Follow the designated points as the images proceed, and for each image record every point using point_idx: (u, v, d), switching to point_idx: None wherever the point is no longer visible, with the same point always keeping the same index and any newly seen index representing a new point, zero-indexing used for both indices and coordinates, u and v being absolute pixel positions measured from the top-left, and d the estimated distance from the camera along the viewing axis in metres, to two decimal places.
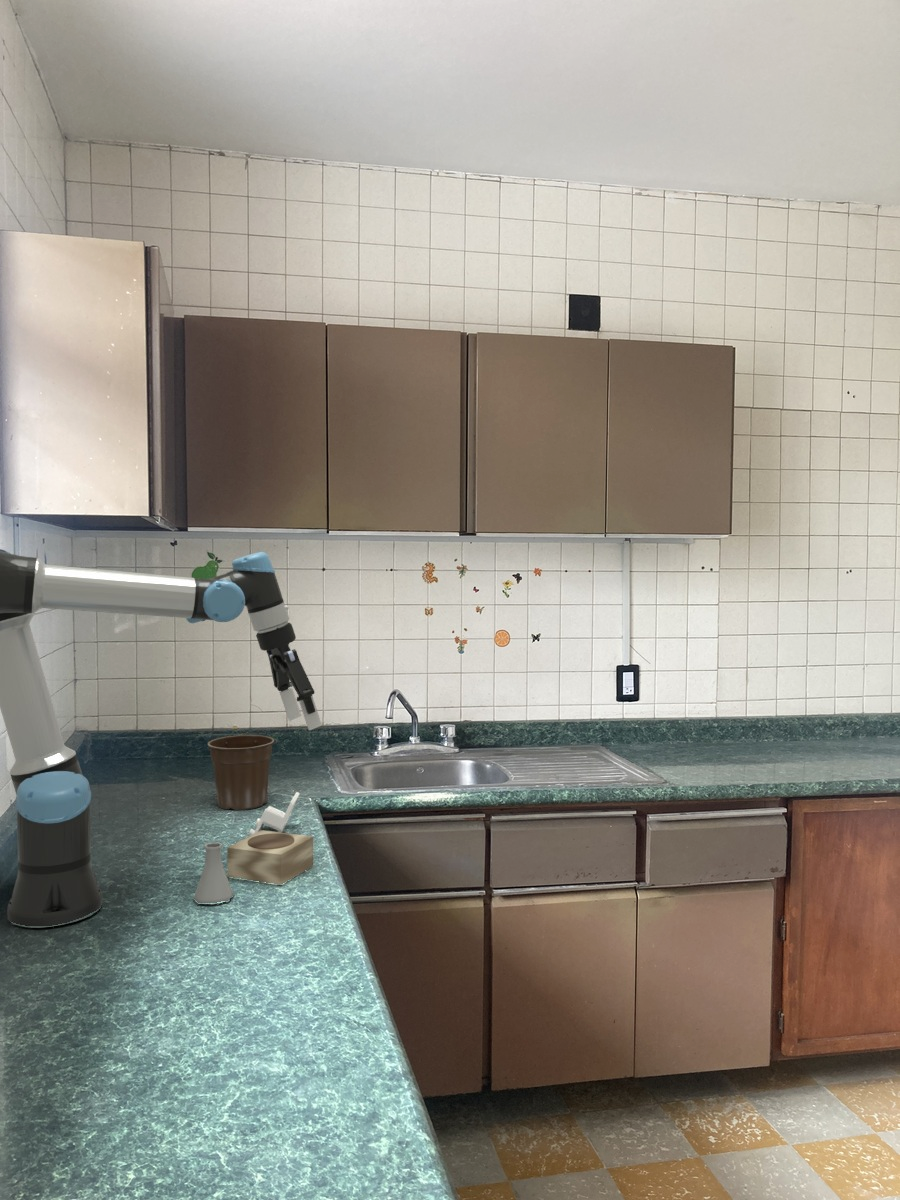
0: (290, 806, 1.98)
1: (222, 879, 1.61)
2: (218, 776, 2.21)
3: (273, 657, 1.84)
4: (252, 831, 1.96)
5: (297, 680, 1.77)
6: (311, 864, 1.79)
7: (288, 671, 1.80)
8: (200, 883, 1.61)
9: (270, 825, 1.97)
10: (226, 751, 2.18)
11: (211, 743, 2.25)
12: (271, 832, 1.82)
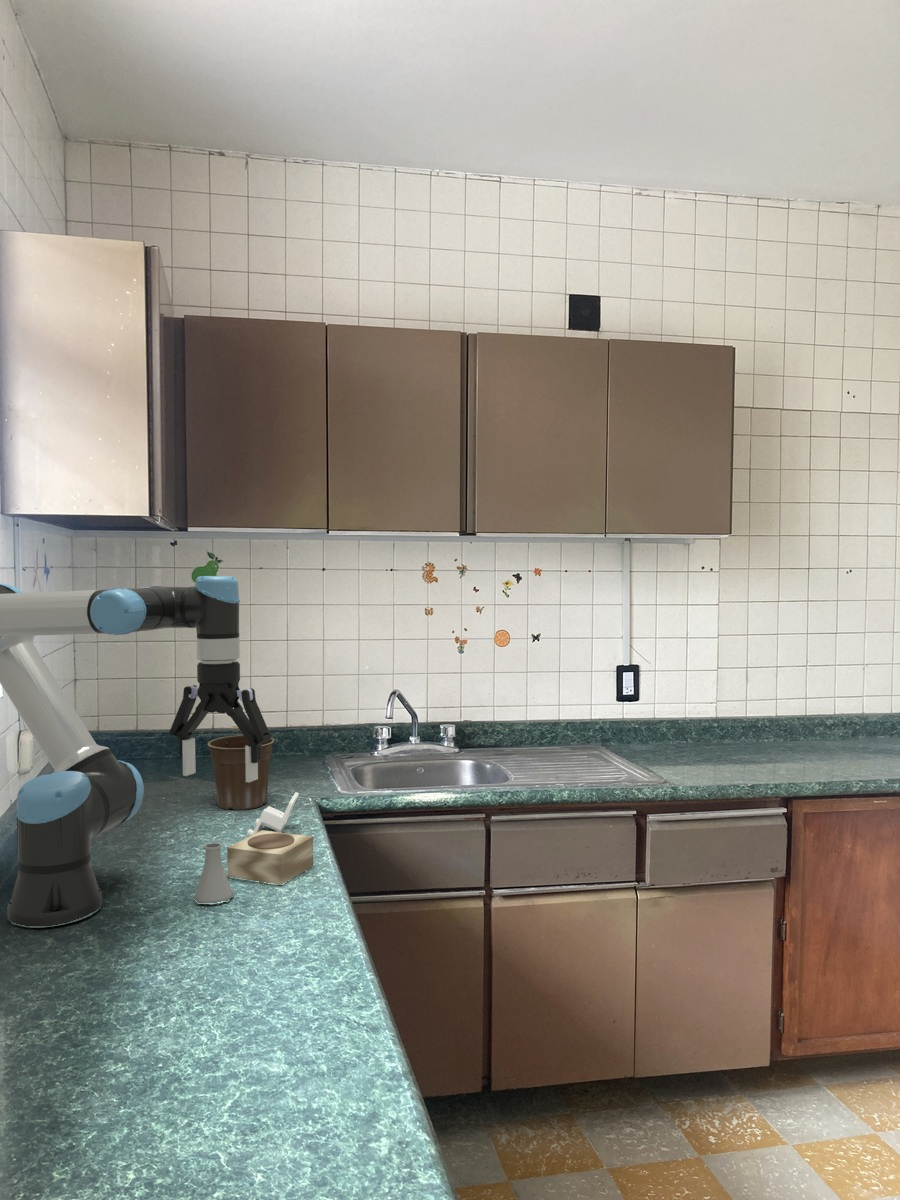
0: (289, 806, 1.98)
1: (222, 879, 1.61)
2: (218, 776, 2.21)
3: (209, 695, 1.61)
4: (251, 831, 1.96)
5: (257, 722, 1.58)
6: (311, 864, 1.79)
7: (235, 712, 1.60)
8: (200, 883, 1.61)
9: (269, 825, 1.96)
10: (226, 751, 2.18)
11: (211, 743, 2.25)
12: (271, 832, 1.82)
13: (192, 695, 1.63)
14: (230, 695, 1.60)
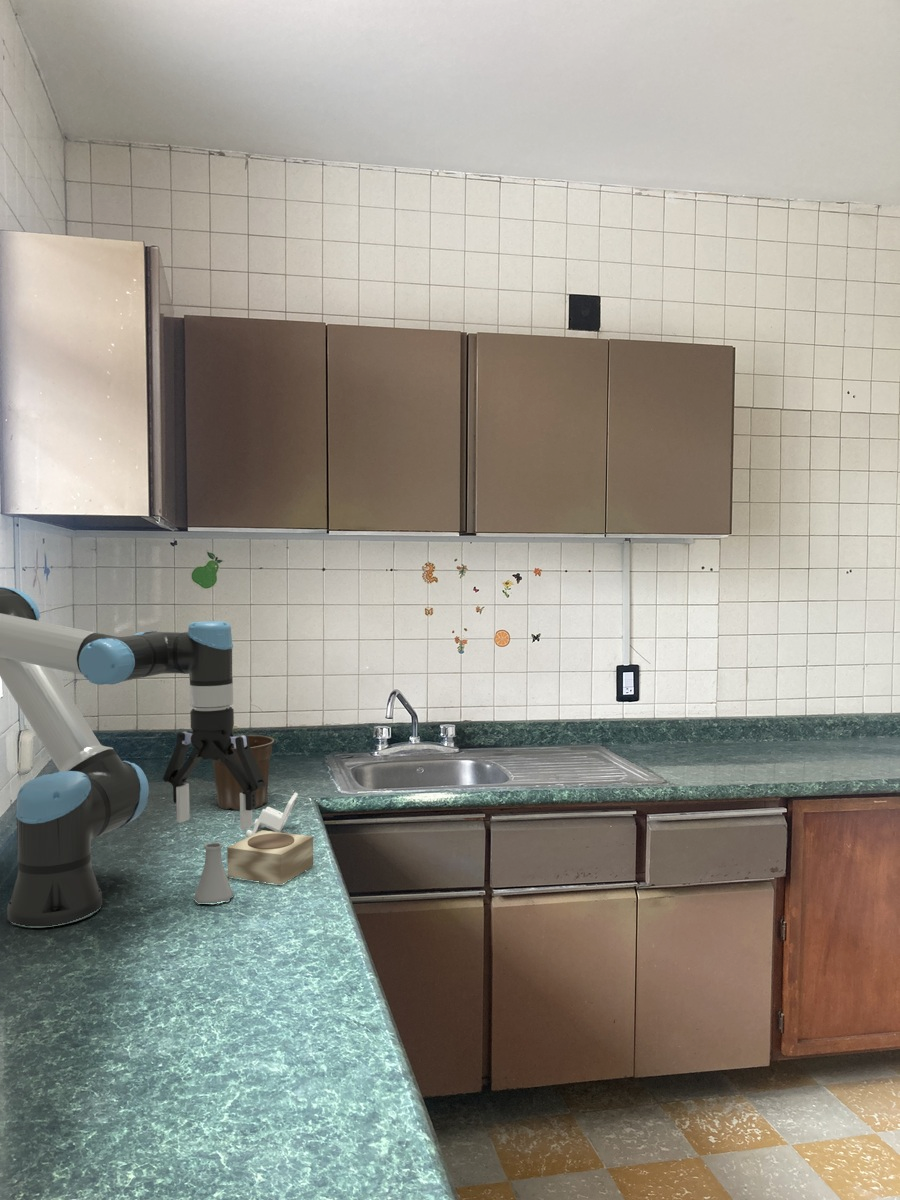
0: (287, 807, 1.98)
1: (222, 879, 1.61)
2: (218, 776, 2.21)
3: (203, 742, 1.60)
4: (249, 832, 1.96)
5: (251, 769, 1.57)
6: (311, 864, 1.79)
7: (229, 759, 1.59)
8: (200, 883, 1.61)
9: (267, 826, 1.96)
10: None
11: None
12: (271, 832, 1.82)
13: (186, 741, 1.62)
14: (224, 742, 1.59)
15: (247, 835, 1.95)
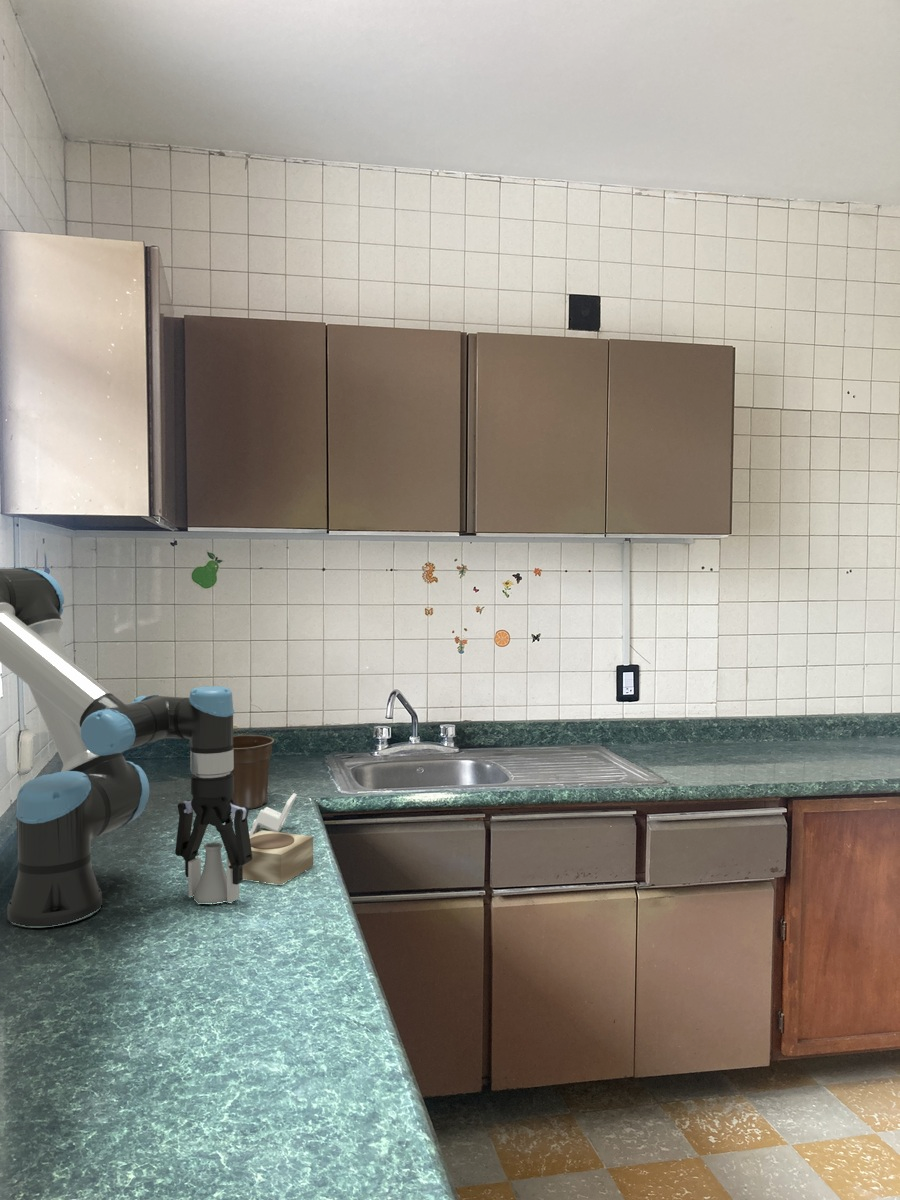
0: (285, 807, 1.97)
1: (222, 879, 1.61)
2: None
3: (202, 807, 1.60)
4: None
5: (243, 844, 1.58)
6: (311, 864, 1.79)
7: (225, 829, 1.60)
8: (200, 883, 1.61)
9: (265, 826, 1.96)
10: None
11: None
12: (271, 832, 1.82)
13: (187, 810, 1.63)
14: (224, 809, 1.59)
15: None
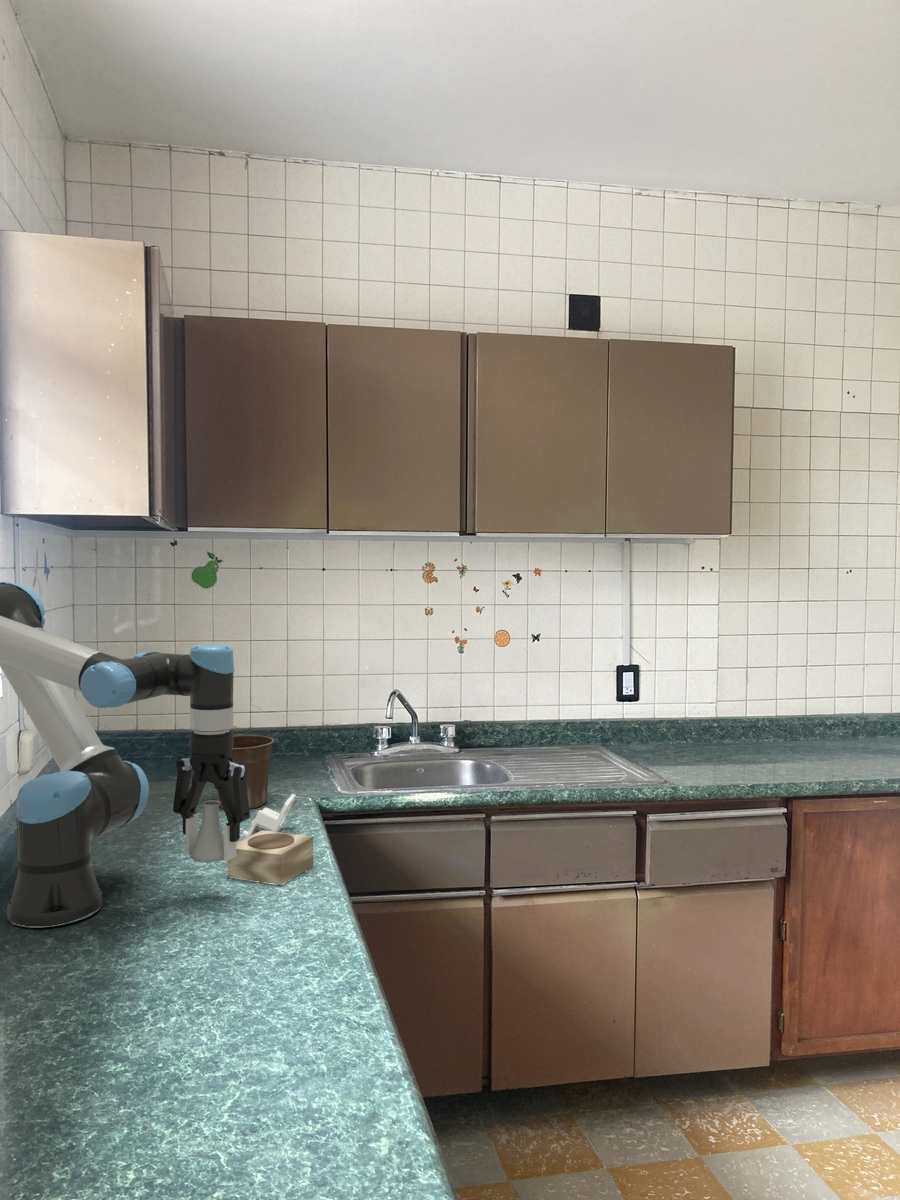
0: (284, 808, 1.97)
1: (219, 837, 1.60)
2: None
3: (201, 764, 1.60)
4: (245, 833, 1.95)
5: (241, 801, 1.58)
6: (311, 864, 1.79)
7: (223, 787, 1.59)
8: (197, 840, 1.60)
9: (263, 827, 1.95)
10: None
11: None
12: (271, 832, 1.82)
13: (186, 767, 1.62)
14: (222, 766, 1.59)
15: (243, 836, 1.95)
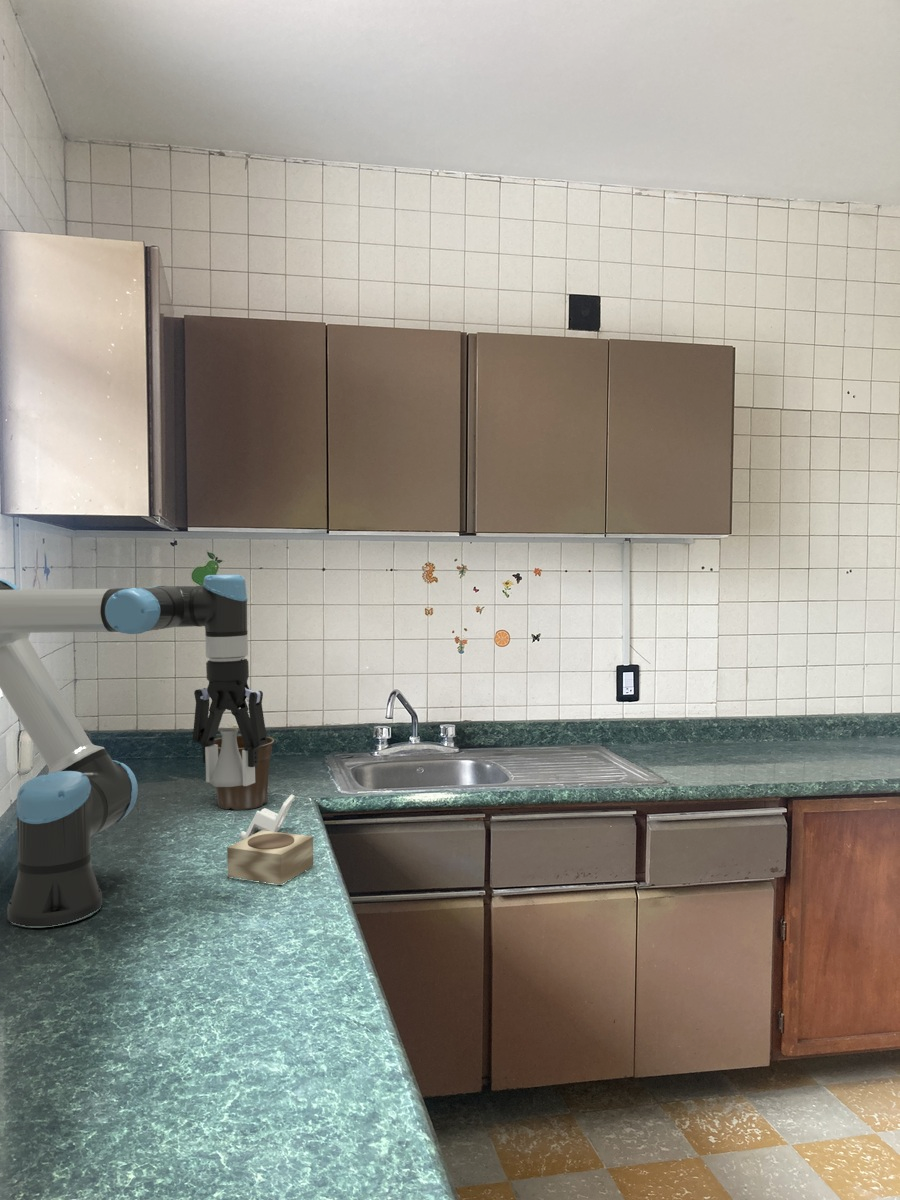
0: (282, 809, 1.96)
1: (238, 763, 1.63)
2: None
3: (218, 692, 1.63)
4: (243, 833, 1.94)
5: (257, 726, 1.61)
6: (311, 864, 1.79)
7: (240, 713, 1.62)
8: (216, 767, 1.63)
9: (261, 828, 1.95)
10: None
11: None
12: (271, 832, 1.82)
13: (204, 696, 1.65)
14: (238, 692, 1.62)
15: (241, 837, 1.94)
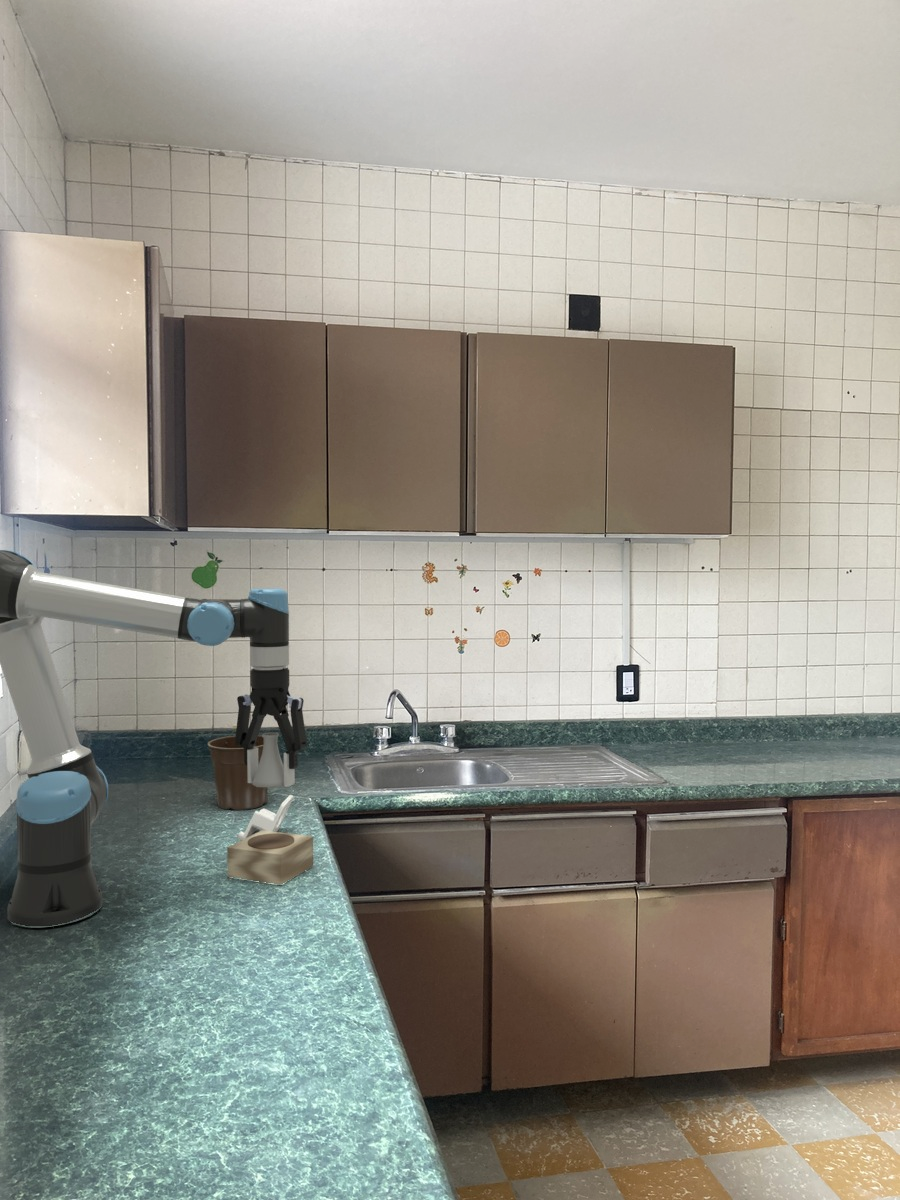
0: (280, 809, 1.96)
1: (279, 765, 1.74)
2: (218, 776, 2.21)
3: (261, 698, 1.74)
4: (241, 834, 1.94)
5: (299, 731, 1.72)
6: (311, 864, 1.79)
7: (282, 718, 1.73)
8: (259, 768, 1.74)
9: (259, 828, 1.95)
10: (226, 751, 2.18)
11: (211, 743, 2.25)
12: (271, 832, 1.82)
13: (246, 702, 1.76)
14: (281, 699, 1.73)
15: (239, 837, 1.94)
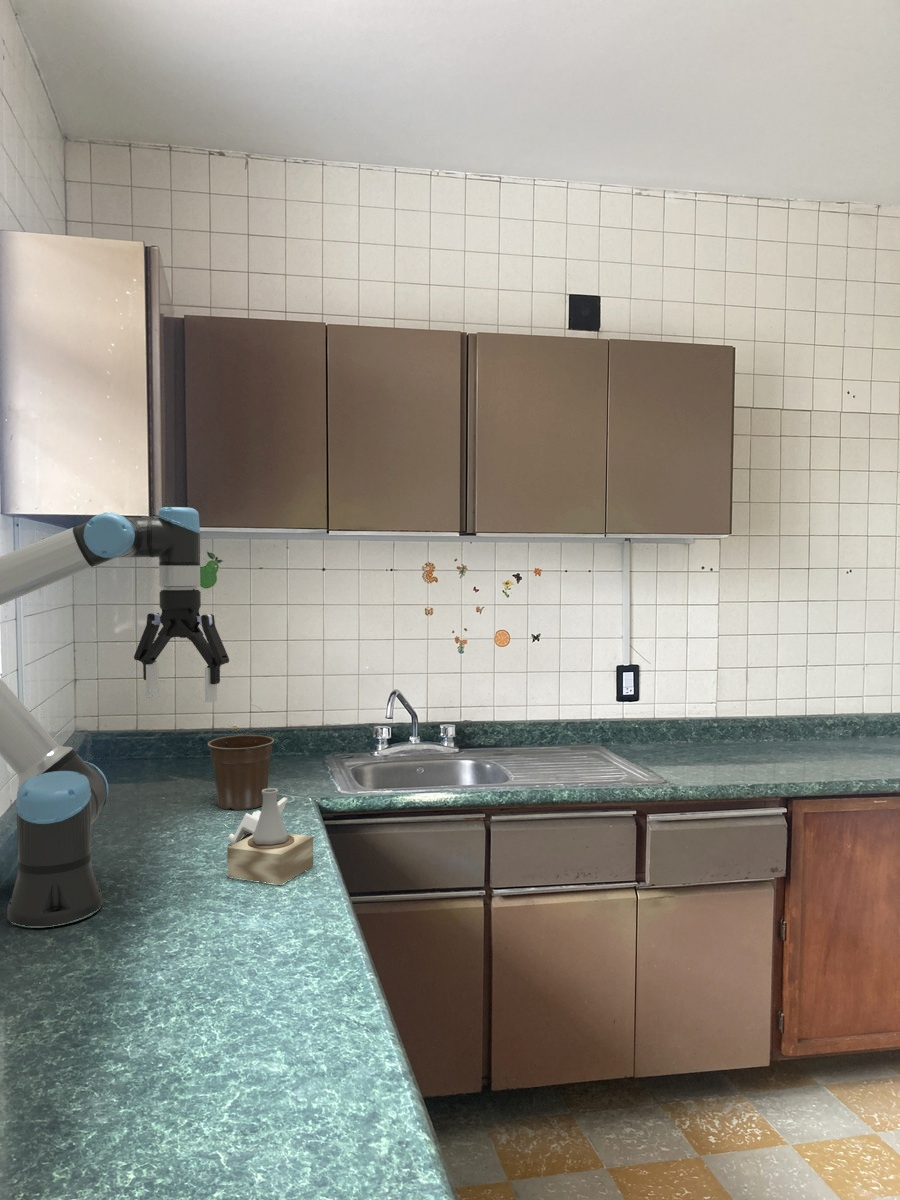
0: None
1: (278, 821, 1.75)
2: (218, 776, 2.21)
3: (171, 620, 1.70)
4: (232, 836, 1.93)
5: (216, 645, 1.67)
6: (311, 864, 1.79)
7: (196, 636, 1.69)
8: (258, 825, 1.75)
9: (250, 831, 1.93)
10: (226, 751, 2.18)
11: (211, 743, 2.25)
12: None
13: (155, 621, 1.72)
14: (190, 620, 1.69)
15: (229, 839, 1.92)
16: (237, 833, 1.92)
